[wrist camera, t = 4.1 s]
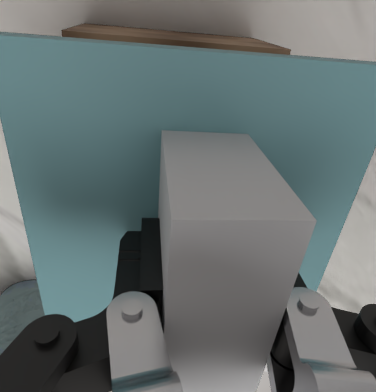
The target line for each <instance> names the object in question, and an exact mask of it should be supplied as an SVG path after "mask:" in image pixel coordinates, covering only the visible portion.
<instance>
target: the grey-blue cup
mask: <svg viewBox="0 0 376 392" xmlns="http://www.w3.org/2000/svg"><path fill="white" fill-rule="evenodd" d="M42 316H45V314H44V309H43V305H42V300H41V296H40V292H39V287H38V283H37V280H27V281H22V282H19V283H16V284H14V285H12V286H10V287H9V288H7V289H6V290H5V291H4V292H3V293H2V294H1V296H0V355H1V354H2V353H3V351H4V350H5V349H6V348H7V347H8V346H9V345H10V344H11V343H12V341H13V340H14V339H15V338H16V337H17V336H18V335H19V334H20V333H21V332H22V330H23V329H24V328H25V327H26V326H27V325H28V324H30V323H31V322H32V321H34V320H36V319H38V318H40V317H42Z"/></svg>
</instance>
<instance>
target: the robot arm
mask: <svg viewBox="0 0 376 392" xmlns="http://www.w3.org/2000/svg"><path fill="white" fill-rule="evenodd" d="M162 304H163V275H162V256H161V238H160V219H159V218H142V223H141V231H127V232H126V233H125V234H124V236H123V237H122V238H121V240H120V246H119V254H118V262H117V271H116V279H115V287H114V295H113V298H112V301H111V302H110V304H109V305H108V306H107V308H105V309H104V310H103V311H102V312H100V313H99V314H97V315H95V316H93V317H90V318H87V319H84V320H81V321H77V322H74V321H73V320H72V319H70V318H69V317H67V316H65V315H61V314H50V315H45V316H42V317H40V318H38V319H36V320H34V321H32V322H31V323H30V324H28V325H27V326H26V327H25V328H24V329H23V330H22V332H21V333H20V334H19V335H18V336H17V337H16V338H15V339H14V340H13V341H12V343H11V344H10V345H9V346H8V347H7V348H6V349H5V350H4V351H3V353H2V354H1V355H0V392H109V391H112V392H183V388H182V385H181V381H180V378H179V376H178V374H177V372H176V371H173V369H172V366H171V362H170V358H169V354H168V350H167V346H166V342H165V338H164V334H163V330H162V326H161V321H162ZM267 368H268V374H269V380H270V386H271V392H376V304H368V305H365V306H364V307H363V308H362V309H361V311H360V313H359V314H357V313H352V312H348V311H344V310H340V309H336V308H333V307H331V306H330V304H329V302H328V301H327V300H326V299H325V298H324V297H323V296H322V295H321V294H319V293H318V292H316V291H314V290H311V289H308V288H307V286H306V284H305V283H304V281H303V279H302V277H301V276H300V274H299V272H298V275H297V278H296V281H295V284H294V287H293V289H292V292H291V295H290V298H289V301H288V303H287V306H286V309H285V312H284V315H283V318H282V320H281V323H280V326H279V329H278V332H277V334H276V337H275V340H274V343H273V346H272V349H271V351H270V354H269V357H268V360H267Z"/></svg>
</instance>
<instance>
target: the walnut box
mask: <svg viewBox="0 0 376 392" xmlns="http://www.w3.org/2000/svg"><path fill="white" fill-rule="evenodd" d="M62 37H71V38H84V39H96V40H109V41H121V42H134V43H146V44H159V45H171V46H184V47H196V48H209V49H221V50H234V51H246V52H259V53H271V54H284V55H290V51H291V50H290V49H287V48H283V47H280V46H277V45H274V44H270V43H267V42H264V41H260V40H257V39H254V38H244V37H233V36H221V35H210V34H199V33H187V32H176V31H165V30H154V29H142V28H131V27H120V26H108V25H97V24H86V23H84V24H81V25H77V26H74V27H71V28H67V29H64V30H62Z"/></svg>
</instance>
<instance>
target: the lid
mask: <svg viewBox="0 0 376 392" xmlns="http://www.w3.org/2000/svg"><path fill="white" fill-rule="evenodd" d="M0 118H1V123H2V127H3V132H4V136H5V141H6V145H7V149H8V154H9V158H10V163H11V167H12V172H13V176H14V181H15V185H16V189H17V194H18V198H19V203H20V207H21V212H22V216H23V221H24V225H25V229H26V234H27V238H28V243H29V247H30V252H31V256H32V260H33V265H34V269H35V274H36V278H37V283H38V287H39V292H40V296H41V300H42V305H43V309H44V314H45V315H50V314H61V315H65V316H67V317H69V318H70V319H72V320H73V321H74V322H77V321H81V320H84V319H87V318H90V317H93V316H95V315H97V314H99V313H100V312H102V311H103V310H104V309H105V308H107V306H108V305H109V304H110V302H111V301H112V298H113V295H114V287H115V279H116V271H117V262H118V254H119V246H120V240H121V238H122V237H123V236H124V234H125V233H126V232H127V231H141V223H142V218H159V219H160V238H161V256H162V275H163V304H162V321H161V326H162V330H163V334H164V338H165V342H166V346H167V350H168V354H169V358H170V362H171V366H172V369H173V371H176V372H177V374H178V376H179V378H180V381H181V385H182V388H183V392H256V391H257V388H258V385H259V382H260V379H261V377H262V374H263V371H264V368H265V365H266V363H267V360H268V357H269V354H270V351H271V349H272V346H273V343H274V340H275V337H276V334H277V332H278V329H279V326H280V323H281V320H282V318H283V315H284V312H285V309H286V306H287V303H288V301H289V298H290V295H291V292H292V289H293V287H294V284H295V281H296V278H297V275H298V272H299V274H300V276H301V277H302V279H303V281H304V283H305V284H306V286H307V288H308V289H311V290H314V291H317V288H318V286H319V284H320V281H321V279H322V276H323V274H324V271H325V269H326V267H327V264H328V262H329V259H330V257H331V254H332V252H333V250H334V247H335V245H336V242H337V240H338V237H339V235H340V233H341V230H342V228H343V225H344V223H345V220H346V218H347V216H348V213H349V211H350V208H351V206H352V203H353V201H354V198H355V196H356V194H357V191H358V189H359V186H360V184H361V181H362V179H363V177H364V174H365V172H366V169H367V167H368V164H369V162H370V160H371V157H372V155H373V152H374V150H375V147H376V62H371V61H359V60H346V59H334V58H321V57H309V56H296V55H284V54H271V53H259V52H246V51H234V50H221V49H209V48H196V47H184V46H171V45H159V44H146V43H134V42H121V41H109V40H96V39H84V38H71V37H59V36H47V35H34V34H22V33H9V32H0Z"/></svg>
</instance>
